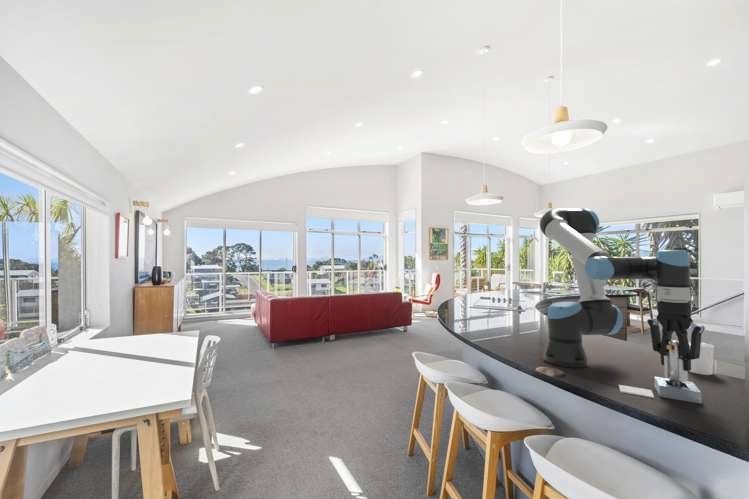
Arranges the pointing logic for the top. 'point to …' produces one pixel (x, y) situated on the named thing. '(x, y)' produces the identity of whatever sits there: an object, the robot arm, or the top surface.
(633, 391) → the mat
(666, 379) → the block
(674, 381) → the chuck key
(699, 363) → the white cup
